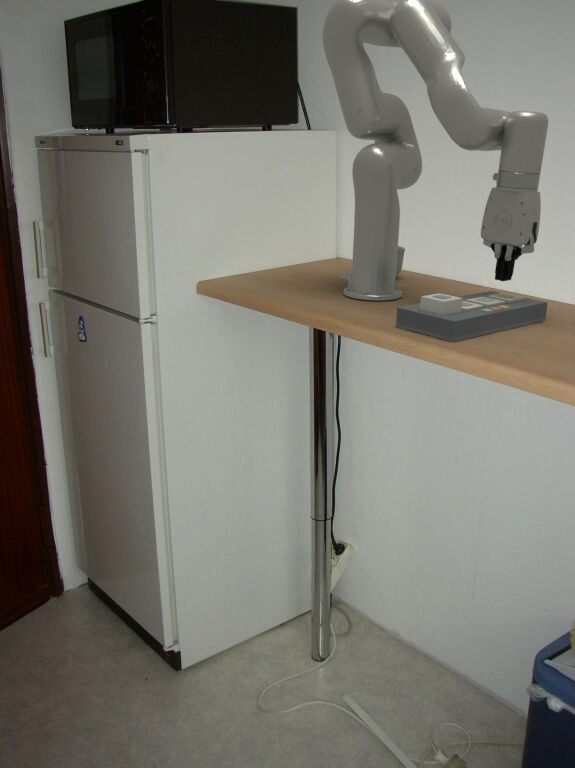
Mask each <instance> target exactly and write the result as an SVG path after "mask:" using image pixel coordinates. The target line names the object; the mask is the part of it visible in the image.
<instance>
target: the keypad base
mask: <svg viewBox="0 0 575 768" xmlns="http://www.w3.org/2000/svg"><path fill="white" fill-rule="evenodd" d="M500 293H501V292H499V291H498V292H497V291H492V290H490V291H489V290H488V291H483V292H482V291H481V292H479V293H478V292H476V293H471V294H467V295H466V294H465V295H461V296H458V297H459V298H463V301H466V300H467V299H472V298H478V297H486V296H489V295H494V294H500ZM547 309H548V301H543V300H538V299H534V298H529V297H525V300H523V301H518V302H513V303H506V302H505V304H503V305H498V306H493V307H485V306H484V308H483V309H477V310H472V311H467V312H466V311H462V312H461V313H457V314H452V315H447V316H439V315H435V314H431V313H427V312H423V311H420V303H415V304H410V305H409V304H408V305H403V306H398V307H397V308H396V318H395V319H396V321H395V327H396V328H399V329H403V330H406V329H407V330H406V331H410V330H411V331H410V332H413V331H414V333H417V334H421V335H425V336H428V335H429V337H432V336H433V338H436V339H439V338H440V340H444V341H447V342H451V343H454V342H455V343H456V342H459V341H462V340H467V339H472V338H476V337H480V336H481V337H482V336H484V335H489V334H493V333H497V332H502V331H506V330H510V329H514V328H519V327H523V326H527V325H531V324H537V323H541V322H544V321H546V316H547Z"/></svg>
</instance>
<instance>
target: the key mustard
mask: <svg viewBox="0 0 575 768" xmlns="http://www.w3.org/2000/svg"><path fill="white" fill-rule="evenodd" d="M499 293H500V294H494V295H489V296H486V297H487V298H491V299H496V300H501V301H505V302H506V303H513V302H518V301H523V300H525V298H526V297H525V296H520V295H514V294H509V293H504V292H499Z"/></svg>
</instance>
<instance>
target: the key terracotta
mask: <svg viewBox="0 0 575 768" xmlns="http://www.w3.org/2000/svg"><path fill="white" fill-rule="evenodd" d="M483 308H484V305H480V304H475V303H471V302H466V301H463V302H462V311H466V312H467V311H472V310H477V309H483Z"/></svg>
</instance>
